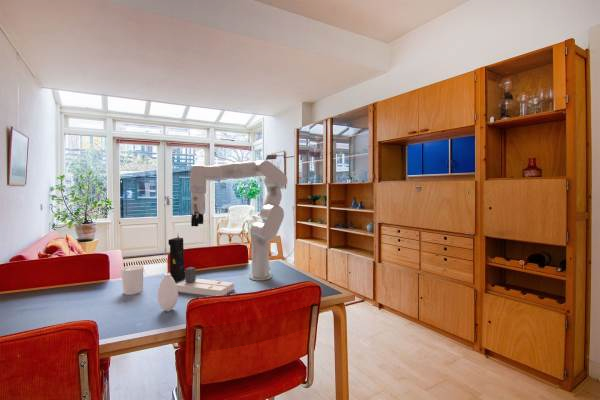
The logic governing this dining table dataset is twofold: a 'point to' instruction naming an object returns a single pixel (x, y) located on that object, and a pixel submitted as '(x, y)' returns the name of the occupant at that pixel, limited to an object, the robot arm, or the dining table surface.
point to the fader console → (205, 288)
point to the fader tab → (190, 275)
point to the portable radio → (177, 258)
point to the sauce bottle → (167, 293)
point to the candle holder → (132, 279)
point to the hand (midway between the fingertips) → (197, 225)
